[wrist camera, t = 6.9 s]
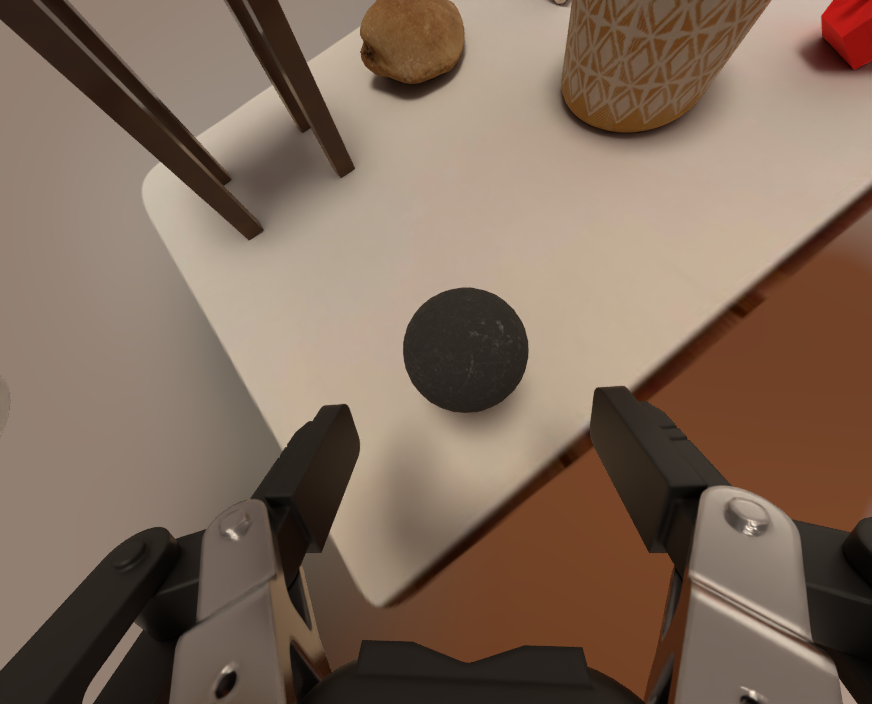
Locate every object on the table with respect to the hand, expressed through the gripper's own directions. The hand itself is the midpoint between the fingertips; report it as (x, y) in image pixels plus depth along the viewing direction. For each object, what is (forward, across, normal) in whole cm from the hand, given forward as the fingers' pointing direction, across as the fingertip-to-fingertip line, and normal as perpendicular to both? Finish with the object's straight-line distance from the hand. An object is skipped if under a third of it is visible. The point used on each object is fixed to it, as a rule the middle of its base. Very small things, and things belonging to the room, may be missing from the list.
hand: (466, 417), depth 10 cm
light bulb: (+10, 0, +5) cm, 11 cm away
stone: (+33, +2, -18) cm, 38 cm away
